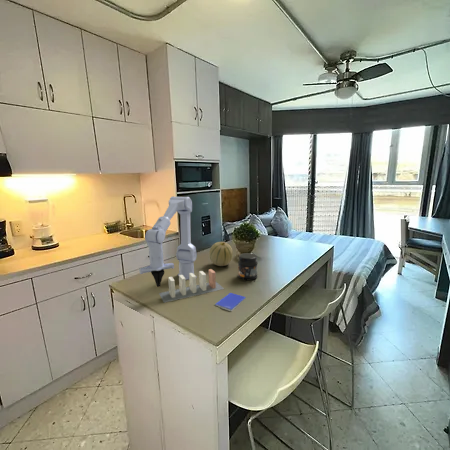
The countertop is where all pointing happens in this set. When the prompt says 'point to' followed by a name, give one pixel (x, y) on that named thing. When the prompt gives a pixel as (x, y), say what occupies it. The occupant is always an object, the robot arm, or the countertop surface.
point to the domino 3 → (192, 282)
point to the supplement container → (247, 266)
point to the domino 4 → (202, 280)
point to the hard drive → (230, 301)
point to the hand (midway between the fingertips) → (158, 286)
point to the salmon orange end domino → (212, 278)
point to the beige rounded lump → (221, 254)
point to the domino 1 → (171, 287)
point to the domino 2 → (182, 284)
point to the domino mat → (189, 292)
